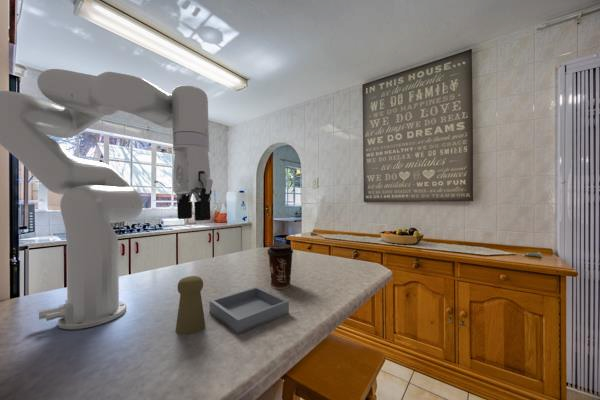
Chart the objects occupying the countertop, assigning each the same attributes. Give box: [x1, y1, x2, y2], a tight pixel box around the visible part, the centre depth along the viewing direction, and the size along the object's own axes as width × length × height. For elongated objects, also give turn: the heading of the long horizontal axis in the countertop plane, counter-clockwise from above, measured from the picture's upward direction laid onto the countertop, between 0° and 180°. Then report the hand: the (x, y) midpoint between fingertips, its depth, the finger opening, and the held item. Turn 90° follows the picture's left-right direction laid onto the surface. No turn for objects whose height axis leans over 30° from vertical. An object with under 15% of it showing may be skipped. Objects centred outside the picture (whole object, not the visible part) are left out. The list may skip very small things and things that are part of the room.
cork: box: [175, 275, 206, 336], centre depth 55 cm, size 6×6×11 cm
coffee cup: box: [267, 243, 294, 290], centre depth 81 cm, size 9×8×13 cm
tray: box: [209, 286, 290, 335], centre depth 62 cm, size 14×14×3 cm
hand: (193, 219), depth 57 cm, fingers open, 9 cm apart
